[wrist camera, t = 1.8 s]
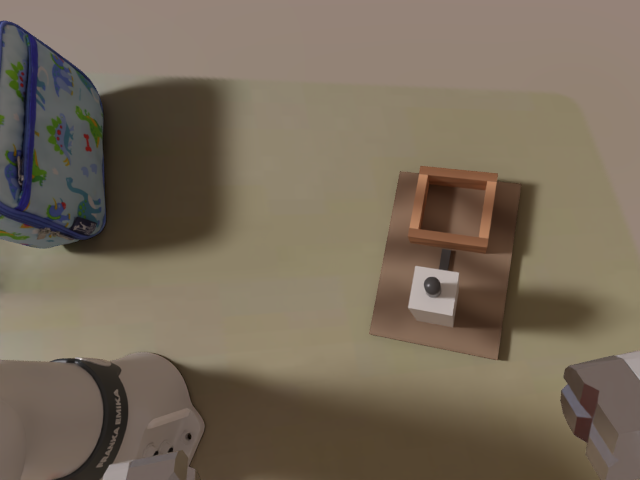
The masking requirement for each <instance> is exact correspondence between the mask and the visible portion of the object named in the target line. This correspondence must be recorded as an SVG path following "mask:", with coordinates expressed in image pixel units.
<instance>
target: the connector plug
mask: <svg viewBox="0 0 640 480" xmlns="http://www.w3.org/2000/svg"><path fill="white" fill-rule="evenodd" d="M458 293H459V273H458V272H452V271H445V270H439V269H433V268H426V267H420V266H415V271H414V277H413V282H412V288H411V294H410V299H409V305H408V308H409V310H410V311H411V313H412V314H413V316H414V317H415V319H416V320H417V321H422V322H428V323H433V324H438V325H443V326H449V327H453V325H454V318H455V312H456V305H457V299H458Z"/></svg>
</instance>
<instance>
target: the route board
mask: <svg viewBox="0 0 640 480" xmlns="http://www.w3.org/2000/svg"><path fill="white" fill-rule="evenodd" d="M497 177H498V174H497V173H487V172H477V171H467V170H457V169H446V168H436V167H426V166H420V172H419V173H411V172H401V171H400V174H399V179H398V185H397V190H396V195H395V200H394V206H393V211H392V216H391V221H390V227H389V232H388V237H387V243H386V248H385V253H384V258H383V264H382V269H381V274H380V280H379V285H378V290H377V295H376V301H375V306H374V311H373V317H372V322H371V327H370V332H369V334H371V335H376V336H381V337H385V338H390V339H395V340H400V341H405V342H410V343H415V344H420V345H425V346H430V347H435V348H440V349H445V350H450V351H454V352H459V353H464V354H469V355H474V356H479V357H484V358H489V359H494V360H498V353H499V346H500V338H501V331H502V323H503V316H504V309H505V301H506V294H507V287H508V279H509V272H510V264H511V257H512V250H513V242H514V235H515V228H516V220H517V213H518V206H519V198H520V191H521V184H517V183H507V182H497ZM415 266H420V267H426V268H433V269H439V270H445V271H452V272H458V273H459V293H458V299H457V305H456V312H455V318H454V325H453V327H449V326H443V325H438V324H433V323H428V322H422V321H417V320H416V319H415V317H414V316H413V314H412V313H411V311H410V310H409V308H408V305H409V299H410V294H411V288H412V282H413V277H414V271H415Z"/></svg>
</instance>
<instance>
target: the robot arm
mask: <svg viewBox="0 0 640 480" xmlns="http://www.w3.org/2000/svg"><path fill="white" fill-rule="evenodd" d="M564 379H565V380H566V382H567V385H566V386H565V387H564V388H563V389H562V390H561V399H560V401H561V406H562V411H563V414H564V417H565V419H566V421H567V424H568V425H569V427H570V429H571V431H572V432H573V434H574V435H575V436H577V437H578V438H580V439H582V440H583V441H585V442H586V443H587V447H586V454H585V455H586V456H587V458H588V460H589V461H590V463H591V465H592V466H593V468H594V470H595V471H596V473H597V475H598V476H599V478H600V480H637V479H640V351H633V352H629V353H624V354H620V355H616V356H614V355H613V356H608V357H604V358H600V359H596V360H591V361H587V362H583V363H579V364H574V365H570V366H568V367H567V368H566V369H565V371H564ZM204 429H205V425H204V421H203V419H202V417H201V416H200V414H199V413H198V412H197V410H196V409H195V408H194V407H193V405H192V403H191V400H190V397H189V393H188V389H187V386H186V384H185V381H184V379H183V377H182V375H181V374H180V372H179V371H178V370H177V368H176V367H175V366H174V365H173V364H172V363H171V362H169V361H168V360H167V359H165V358H163V357H161V356H159V355H157V354H153V353H147V352H140V353H133V354H130V355H127V356H125V357H123V358H120V359H117V360H112V361H107V360H103V359H95V358H78V357H75V358H67V359H56V360H53V361H50V362H41V361H14V360H0V480H201V479H200V476H199V474H198V473H197V471H196V469H194V468H191V467H189V465H190V462H191V460H192V458H193V455H194V453H195V451H196V448H197V446H198V444H199V442H200V439H201V437H202V435H203V432H204ZM189 433H190V434H191V436H192V437H191V440H189V439H188V434H189Z"/></svg>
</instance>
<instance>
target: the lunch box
mask: <svg viewBox="0 0 640 480" xmlns="http://www.w3.org/2000/svg"><path fill="white" fill-rule="evenodd" d="M102 141H103V107H102V102H101V99H100V96H99V94H98V92H97V90H96V88H95V86H94V85H93V83H92V82H91V80H90V79H89V78H88V77H87V76H86V75H85V74H84V73H83V72H82V71H81V70H79V69H78V68H77V67H76V66H74V65H73V64H72V63H70V62H69V61H68V60H66V59H65V58H63V57H62V56H61V55H59V54H58V53H57V52H55V51H54V50H53V49H51V48H50V47H49V46H47V45H46V44H44V43H43V42H42V41H40V40H38V39H37V38H36V37H34V36H33V35H31V34H30V33H28V32H27V31H26V30H24V29H23V28H21V27H20V26H18V25H16V24H14V23H12V22H8V21H0V239H2V240H6V241H10V242H14V243H18V244H22V245H26V246H30V247H34V248H51V247H54V246H58V245H62V244H69V243H73V242H77V241H79V240H86V239H89V238H91V237H94V236H96V235H97V234H99V233H100V232H101V231H102V230H103V228H104V226H105V223H106V207H105V183H104V156H103V144H102Z"/></svg>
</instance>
